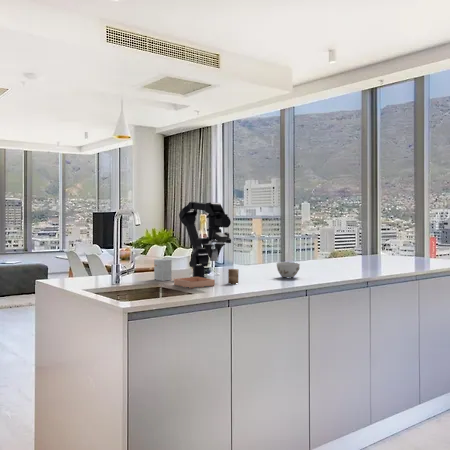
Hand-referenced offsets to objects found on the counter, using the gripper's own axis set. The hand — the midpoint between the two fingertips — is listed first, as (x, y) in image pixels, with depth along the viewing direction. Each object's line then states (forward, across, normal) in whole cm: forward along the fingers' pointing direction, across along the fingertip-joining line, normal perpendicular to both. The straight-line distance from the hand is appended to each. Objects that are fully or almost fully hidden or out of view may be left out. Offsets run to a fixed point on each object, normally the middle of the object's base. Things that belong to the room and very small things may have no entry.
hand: (213, 257), depth 265 cm
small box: (+12, -19, +19) cm, 29 cm away
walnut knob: (+12, +3, -12) cm, 18 cm away
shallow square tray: (+12, -17, -7) cm, 22 cm away
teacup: (+12, +43, -12) cm, 46 cm away
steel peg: (+2, 0, 0) cm, 2 cm away
